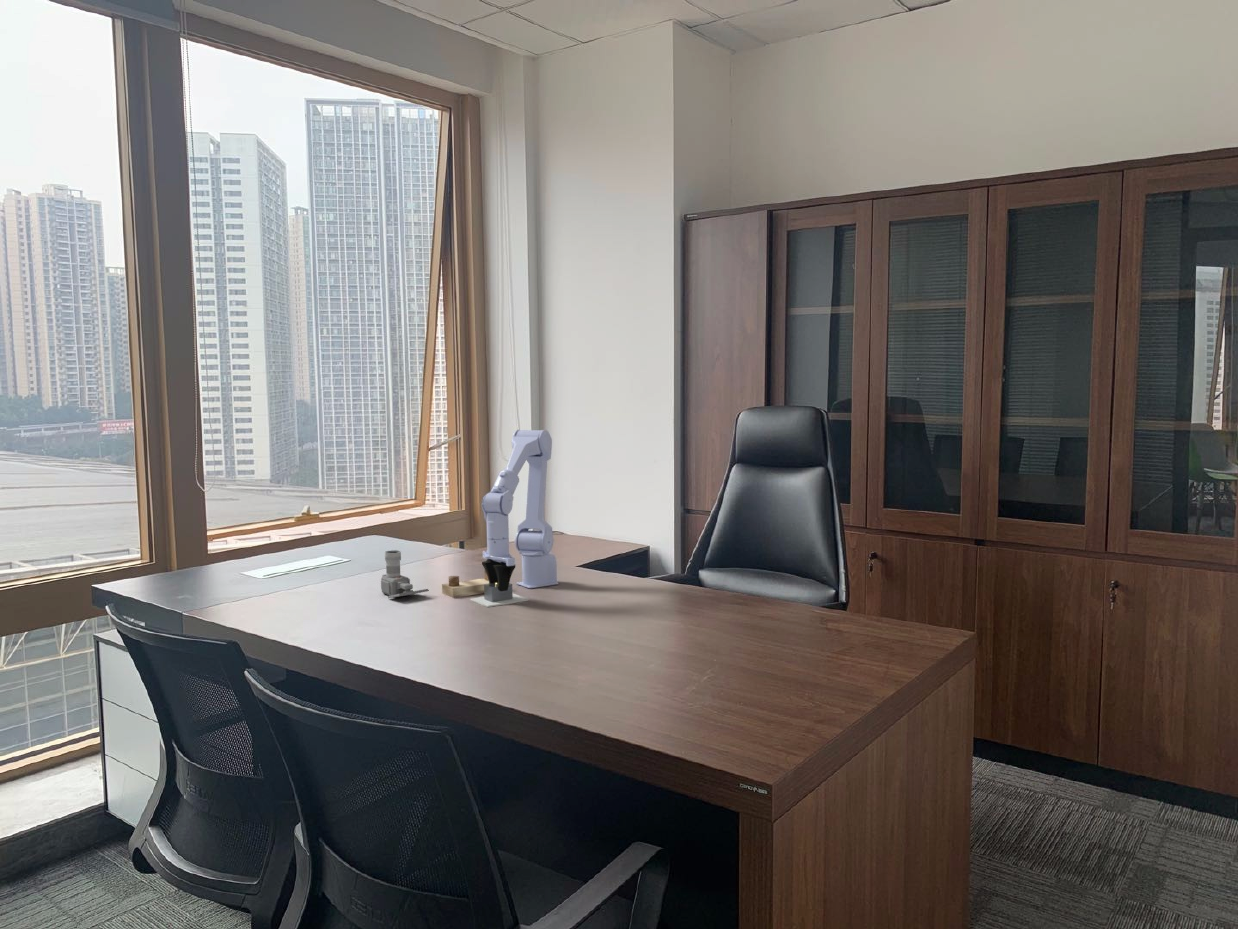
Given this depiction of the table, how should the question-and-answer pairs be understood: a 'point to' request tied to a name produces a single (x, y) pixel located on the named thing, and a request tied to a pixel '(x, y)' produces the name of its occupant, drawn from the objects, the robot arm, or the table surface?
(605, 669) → the table surface
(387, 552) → the camera
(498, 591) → the lever cap
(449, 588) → the body
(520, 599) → the felt mat
